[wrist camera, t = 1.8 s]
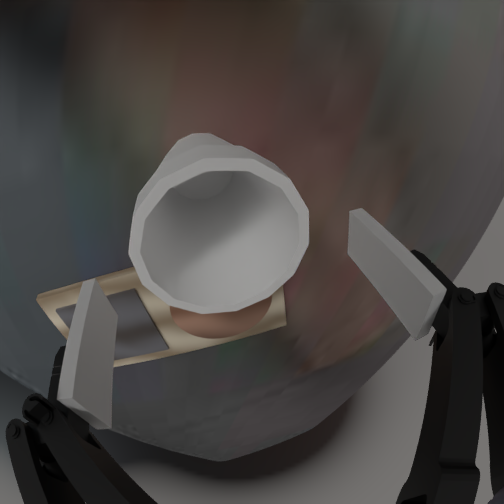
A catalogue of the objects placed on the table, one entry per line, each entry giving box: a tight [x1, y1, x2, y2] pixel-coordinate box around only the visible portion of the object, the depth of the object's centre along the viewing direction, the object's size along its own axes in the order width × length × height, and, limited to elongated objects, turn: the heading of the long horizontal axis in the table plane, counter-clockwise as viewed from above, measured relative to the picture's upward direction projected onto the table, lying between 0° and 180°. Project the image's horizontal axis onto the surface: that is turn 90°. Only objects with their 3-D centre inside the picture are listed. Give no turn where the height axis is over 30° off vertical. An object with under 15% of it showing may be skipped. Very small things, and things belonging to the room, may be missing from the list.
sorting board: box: [36, 267, 287, 367], centre depth 33 cm, size 15×29×1 cm, turn 99°
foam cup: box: [128, 133, 309, 314], centre depth 20 cm, size 10×9×13 cm
